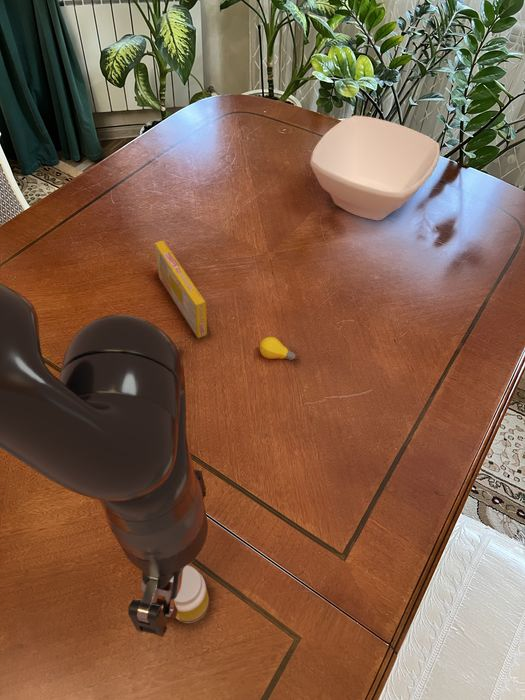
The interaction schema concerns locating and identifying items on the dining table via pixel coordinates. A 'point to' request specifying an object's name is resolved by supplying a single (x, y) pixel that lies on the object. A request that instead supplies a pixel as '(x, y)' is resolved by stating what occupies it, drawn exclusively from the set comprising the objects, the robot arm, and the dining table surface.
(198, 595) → the supplement bottle
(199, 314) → the candy box
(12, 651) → the dining table surface
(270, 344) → the light bulb
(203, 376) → the dining table surface
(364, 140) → the bowl
